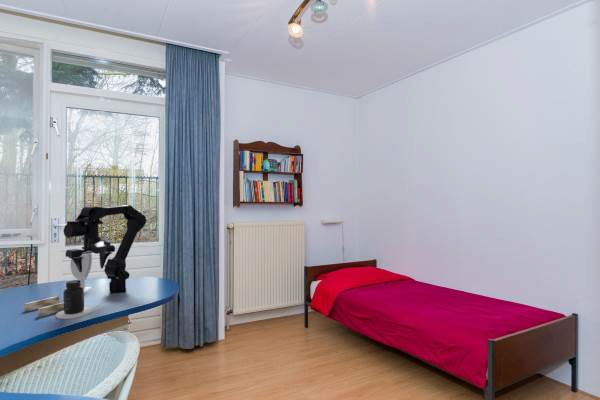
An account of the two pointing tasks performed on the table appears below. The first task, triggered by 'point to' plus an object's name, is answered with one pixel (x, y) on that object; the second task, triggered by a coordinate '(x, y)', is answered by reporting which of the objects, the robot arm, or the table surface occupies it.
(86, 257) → the heart sculpture
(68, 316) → the pad
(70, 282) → the supplement bottle
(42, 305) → the channel
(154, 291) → the table surface
